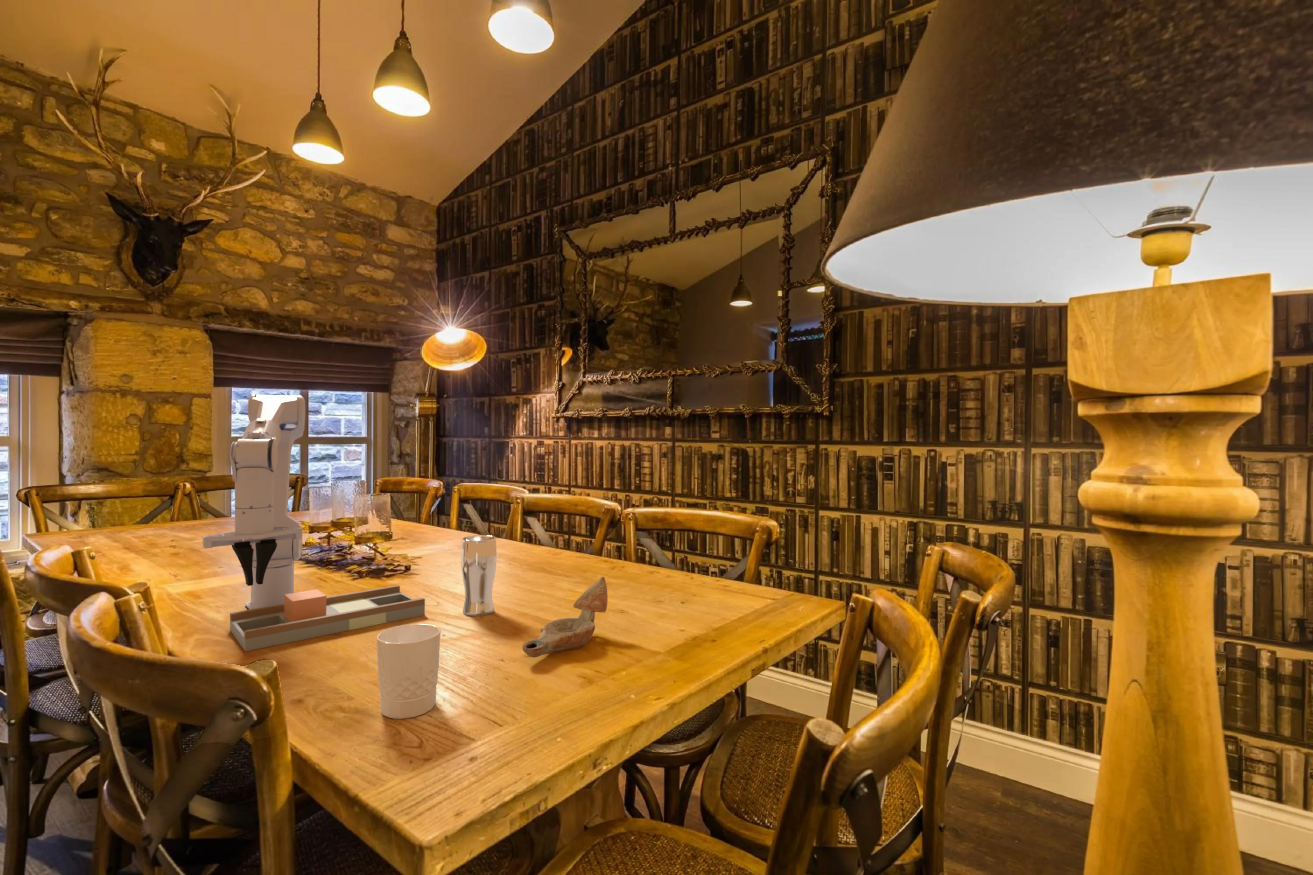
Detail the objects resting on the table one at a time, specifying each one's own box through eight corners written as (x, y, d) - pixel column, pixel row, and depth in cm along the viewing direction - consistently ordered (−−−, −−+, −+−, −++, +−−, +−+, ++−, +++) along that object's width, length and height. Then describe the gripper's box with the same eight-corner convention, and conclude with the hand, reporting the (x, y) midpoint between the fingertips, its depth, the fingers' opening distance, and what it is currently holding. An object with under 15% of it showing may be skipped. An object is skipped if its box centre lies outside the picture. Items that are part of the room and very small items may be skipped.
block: (284, 615, 113) (284, 594, 113) (317, 609, 117) (317, 589, 117) (292, 623, 109) (292, 601, 109) (326, 617, 113) (326, 595, 113)
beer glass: (486, 618, 120) (486, 541, 120) (453, 615, 121) (454, 540, 121) (502, 607, 127) (502, 535, 127) (471, 605, 128) (471, 534, 128)
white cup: (388, 695, 85) (389, 623, 85) (446, 694, 86) (447, 623, 86) (366, 722, 77) (367, 643, 77) (430, 720, 78) (431, 642, 78)
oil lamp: (622, 633, 112) (622, 579, 112) (545, 673, 94) (545, 608, 94) (584, 625, 116) (584, 573, 116) (503, 661, 98) (503, 599, 98)
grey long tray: (229, 630, 111) (230, 612, 111) (397, 599, 132) (398, 585, 132) (245, 651, 101) (245, 632, 101) (424, 614, 121) (424, 598, 121)
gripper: (207, 512, 99) (207, 595, 100) (306, 505, 109) (306, 581, 110) (200, 508, 105) (200, 587, 105) (296, 502, 115) (296, 574, 115)
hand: (254, 583), depth 108 cm, fingers closed
